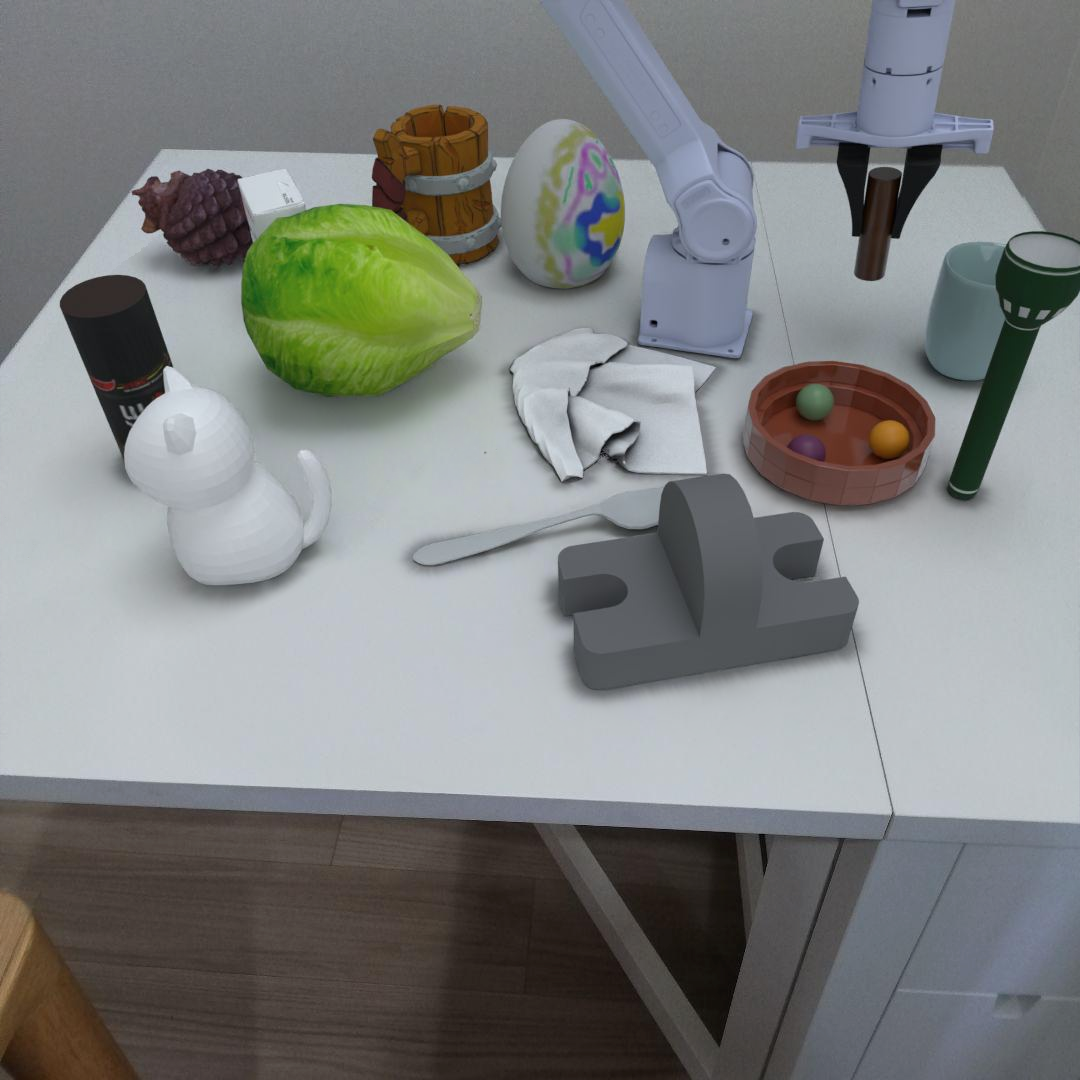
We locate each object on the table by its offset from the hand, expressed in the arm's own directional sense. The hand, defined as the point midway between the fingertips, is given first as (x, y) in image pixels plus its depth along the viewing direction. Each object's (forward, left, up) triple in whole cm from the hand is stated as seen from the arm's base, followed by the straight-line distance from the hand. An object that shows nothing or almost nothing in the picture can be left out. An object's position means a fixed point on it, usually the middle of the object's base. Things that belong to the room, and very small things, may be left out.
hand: (876, 232), depth 83 cm
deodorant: (-52, -32, -11) cm, 62 cm away
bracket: (-7, -37, -11) cm, 39 cm away
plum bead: (-2, -21, -8) cm, 22 cm away
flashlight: (+10, -20, -11) cm, 24 cm away
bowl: (0, -17, -10) cm, 20 cm away
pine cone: (-64, 0, -11) cm, 65 cm away
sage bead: (-2, -14, -8) cm, 16 cm away
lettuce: (-40, -17, -11) cm, 45 cm away
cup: (+10, -2, -11) cm, 14 cm away
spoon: (-19, -32, -11) cm, 39 cm away
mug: (-43, +6, -11) cm, 45 cm away
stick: (0, 0, -4) cm, 4 cm away
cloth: (-19, -16, -11) cm, 27 cm away
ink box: (-53, -7, -11) cm, 55 cm away
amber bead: (+4, -17, -8) cm, 20 cm away
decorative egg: (-29, +6, -11) cm, 32 cm away
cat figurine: (-39, -40, -11) cm, 57 cm away
